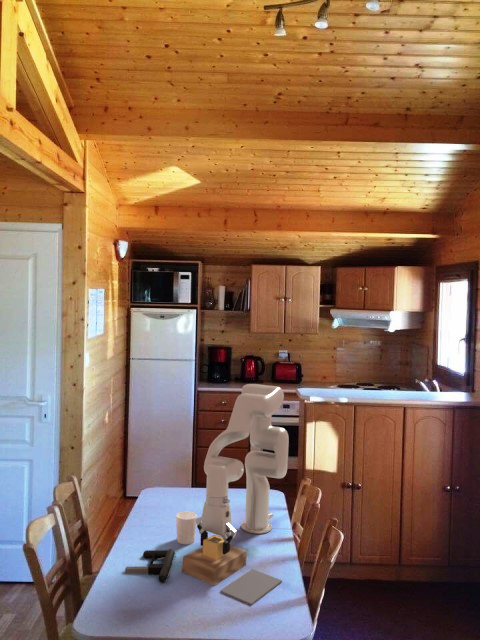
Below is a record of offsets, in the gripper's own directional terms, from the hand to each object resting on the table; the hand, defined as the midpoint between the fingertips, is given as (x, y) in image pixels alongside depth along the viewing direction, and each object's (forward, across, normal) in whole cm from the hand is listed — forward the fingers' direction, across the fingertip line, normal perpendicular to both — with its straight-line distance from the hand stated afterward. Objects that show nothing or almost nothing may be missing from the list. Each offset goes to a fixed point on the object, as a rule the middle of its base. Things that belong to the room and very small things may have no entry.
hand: (214, 548), depth 186 cm
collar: (+2, 0, 0) cm, 2 cm away
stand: (+7, 0, 0) cm, 7 cm away
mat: (+7, -17, +2) cm, 18 cm away
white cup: (+7, +22, -10) cm, 25 cm away
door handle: (+8, +17, +13) cm, 23 cm away
